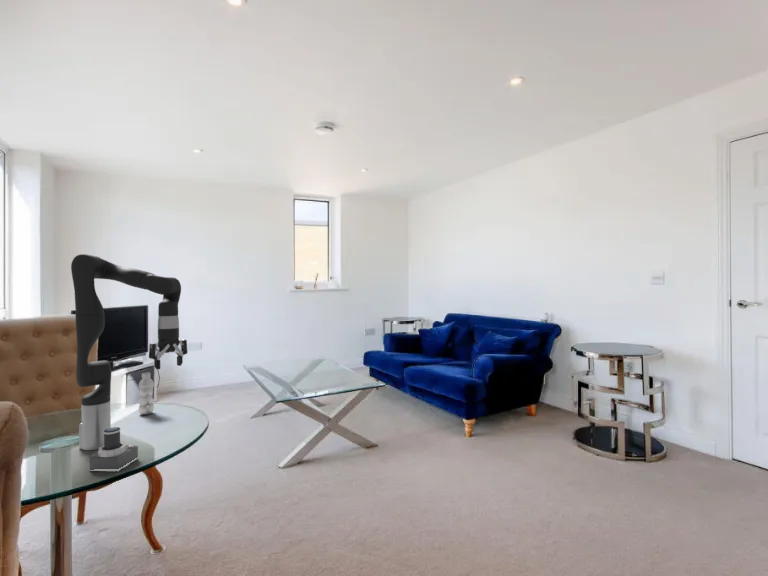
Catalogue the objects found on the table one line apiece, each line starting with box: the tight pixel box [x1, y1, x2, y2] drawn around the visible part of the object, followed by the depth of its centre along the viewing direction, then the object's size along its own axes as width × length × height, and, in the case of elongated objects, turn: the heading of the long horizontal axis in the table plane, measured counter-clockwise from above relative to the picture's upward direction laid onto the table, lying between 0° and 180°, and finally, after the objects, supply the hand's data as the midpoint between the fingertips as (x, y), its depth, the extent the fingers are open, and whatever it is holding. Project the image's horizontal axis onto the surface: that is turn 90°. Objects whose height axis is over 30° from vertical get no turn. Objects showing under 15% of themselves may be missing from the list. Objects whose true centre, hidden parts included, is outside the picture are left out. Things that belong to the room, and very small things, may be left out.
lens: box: [104, 426, 121, 450], centre depth 140 cm, size 5×5×8 cm
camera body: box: [89, 441, 139, 471], centre depth 141 cm, size 10×10×7 cm
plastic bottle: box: [138, 371, 155, 416], centre depth 195 cm, size 6×7×20 cm
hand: (168, 367), depth 161 cm, fingers open, 8 cm apart
